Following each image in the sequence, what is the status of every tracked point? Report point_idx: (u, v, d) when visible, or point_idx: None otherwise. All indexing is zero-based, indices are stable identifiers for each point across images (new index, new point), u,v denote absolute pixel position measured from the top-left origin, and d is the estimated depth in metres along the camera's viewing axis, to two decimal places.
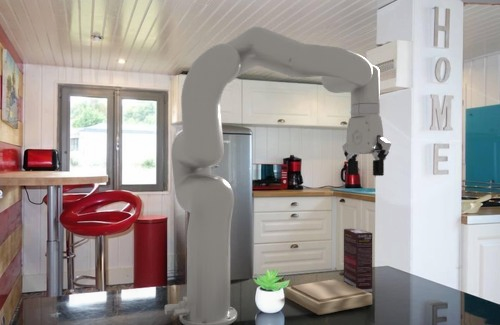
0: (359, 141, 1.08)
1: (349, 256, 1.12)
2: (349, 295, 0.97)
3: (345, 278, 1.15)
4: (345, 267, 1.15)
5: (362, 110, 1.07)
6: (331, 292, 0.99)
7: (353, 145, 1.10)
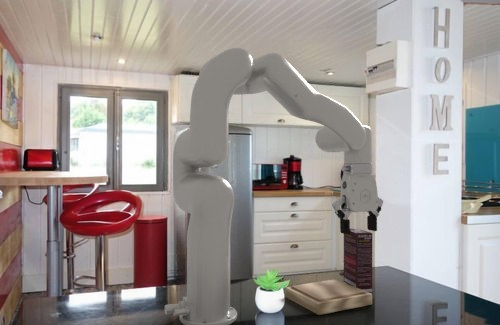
0: (367, 199, 1.11)
1: (349, 256, 1.12)
2: (349, 295, 0.97)
3: (345, 278, 1.15)
4: (345, 267, 1.15)
5: (371, 170, 1.11)
6: (331, 292, 0.99)
7: (361, 204, 1.10)
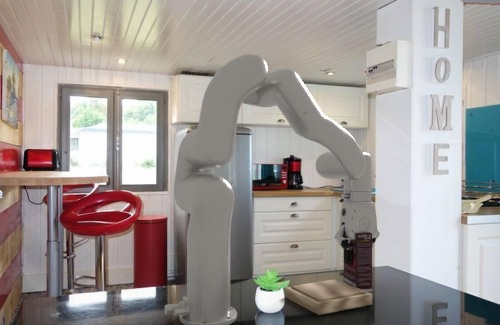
0: (366, 227, 1.10)
1: None
2: (349, 295, 0.97)
3: (345, 278, 1.15)
4: (345, 267, 1.15)
5: (371, 197, 1.11)
6: (331, 292, 0.99)
7: (360, 231, 1.09)
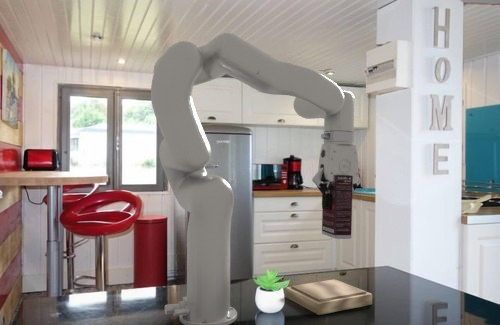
0: (346, 170, 1.03)
1: None
2: (349, 295, 0.97)
3: (323, 227, 1.07)
4: (324, 215, 1.07)
5: None
6: (331, 292, 0.99)
7: (340, 174, 1.02)
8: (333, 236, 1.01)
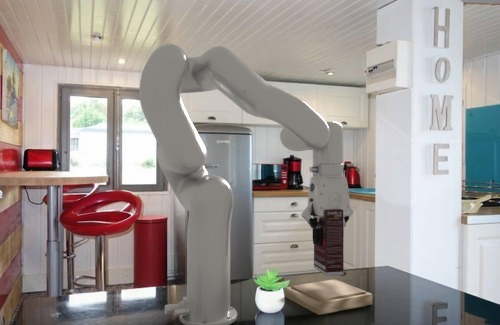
0: (337, 204, 1.00)
1: None
2: (349, 295, 0.97)
3: (315, 261, 1.04)
4: (315, 249, 1.04)
5: (342, 171, 1.00)
6: (331, 292, 0.99)
7: (330, 208, 0.99)
8: (325, 273, 0.98)
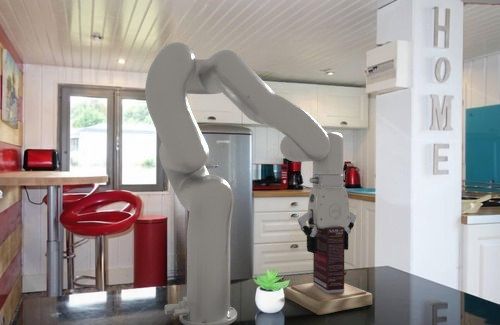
0: (337, 215, 1.00)
1: (319, 253, 1.01)
2: (349, 295, 0.97)
3: (315, 278, 1.04)
4: (315, 265, 1.04)
5: (342, 182, 1.00)
6: None
7: (330, 219, 0.99)
8: (326, 291, 0.98)
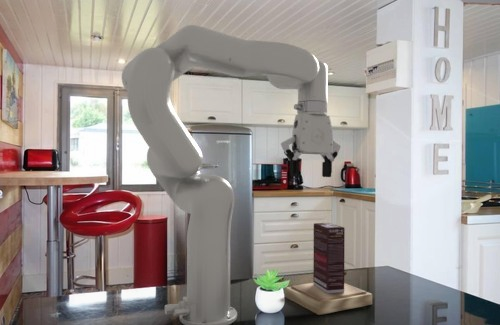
0: (319, 140, 1.03)
1: (319, 253, 1.01)
2: (349, 295, 0.97)
3: (315, 278, 1.04)
4: (315, 265, 1.04)
5: (326, 109, 1.03)
6: None
7: (312, 144, 1.02)
8: (326, 291, 0.98)
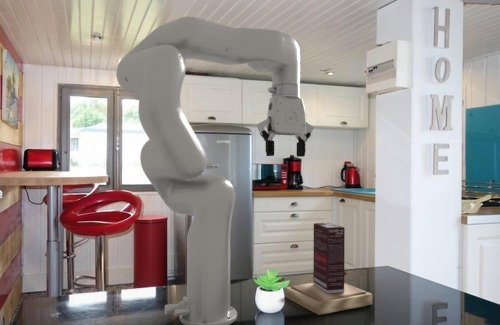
0: (293, 121, 1.09)
1: (319, 253, 1.01)
2: (349, 295, 0.97)
3: (315, 278, 1.04)
4: (315, 265, 1.04)
5: (298, 92, 1.09)
6: None
7: (286, 125, 1.07)
8: (326, 291, 0.98)
